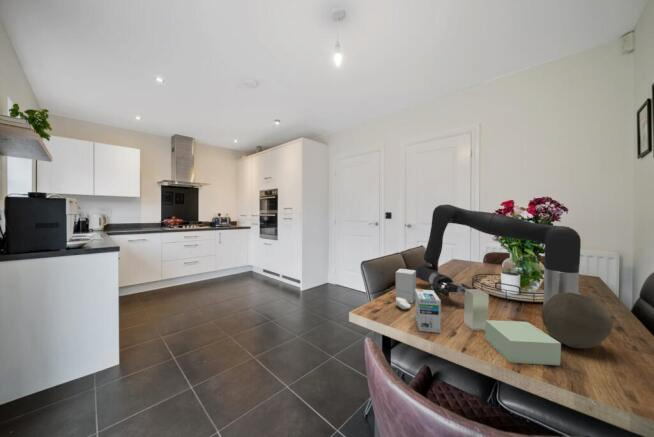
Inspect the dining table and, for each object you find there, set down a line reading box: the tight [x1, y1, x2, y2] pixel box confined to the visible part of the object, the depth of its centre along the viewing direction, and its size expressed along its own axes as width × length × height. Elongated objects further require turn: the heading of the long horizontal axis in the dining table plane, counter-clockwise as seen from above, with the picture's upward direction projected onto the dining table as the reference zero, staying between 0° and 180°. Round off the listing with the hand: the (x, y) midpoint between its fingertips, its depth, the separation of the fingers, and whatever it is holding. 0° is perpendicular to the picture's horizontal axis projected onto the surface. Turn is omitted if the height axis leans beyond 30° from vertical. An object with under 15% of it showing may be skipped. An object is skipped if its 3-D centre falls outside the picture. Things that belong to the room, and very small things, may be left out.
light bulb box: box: [414, 288, 442, 334], centre depth 85 cm, size 11×7×11 cm, turn 168°
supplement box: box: [395, 268, 417, 304], centre depth 109 cm, size 7×7×13 cm
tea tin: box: [463, 288, 490, 331], centre depth 83 cm, size 5×5×12 cm
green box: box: [484, 319, 562, 366], centre depth 69 cm, size 12×12×6 cm
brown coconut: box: [541, 292, 614, 350], centre depth 72 cm, size 14×14×15 cm
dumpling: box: [395, 297, 412, 311], centre depth 99 cm, size 7×5×4 cm
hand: (459, 295), depth 94 cm, fingers open, 8 cm apart
